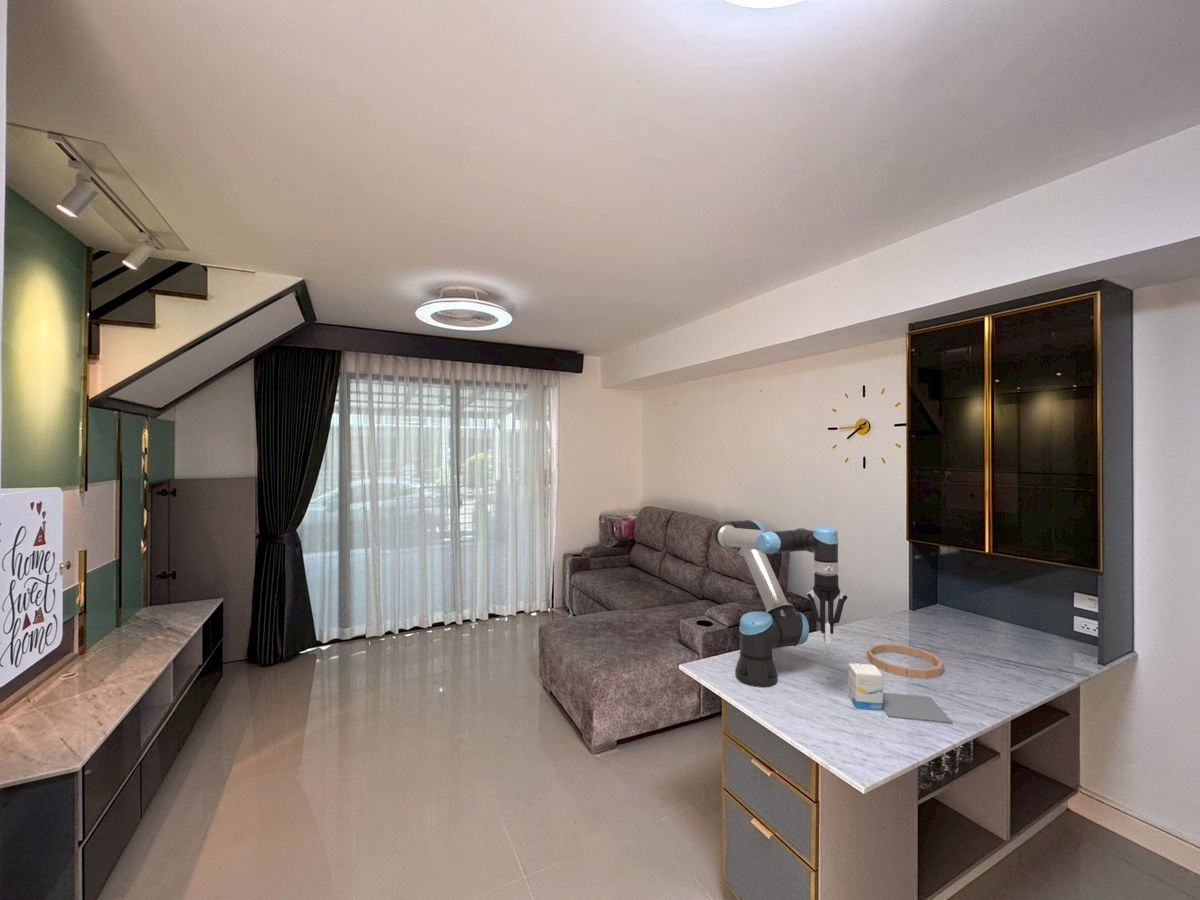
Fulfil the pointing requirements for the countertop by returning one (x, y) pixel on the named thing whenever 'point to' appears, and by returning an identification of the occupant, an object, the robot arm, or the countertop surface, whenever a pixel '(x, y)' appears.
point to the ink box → (865, 686)
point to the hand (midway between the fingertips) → (827, 642)
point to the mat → (913, 708)
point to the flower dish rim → (902, 670)
